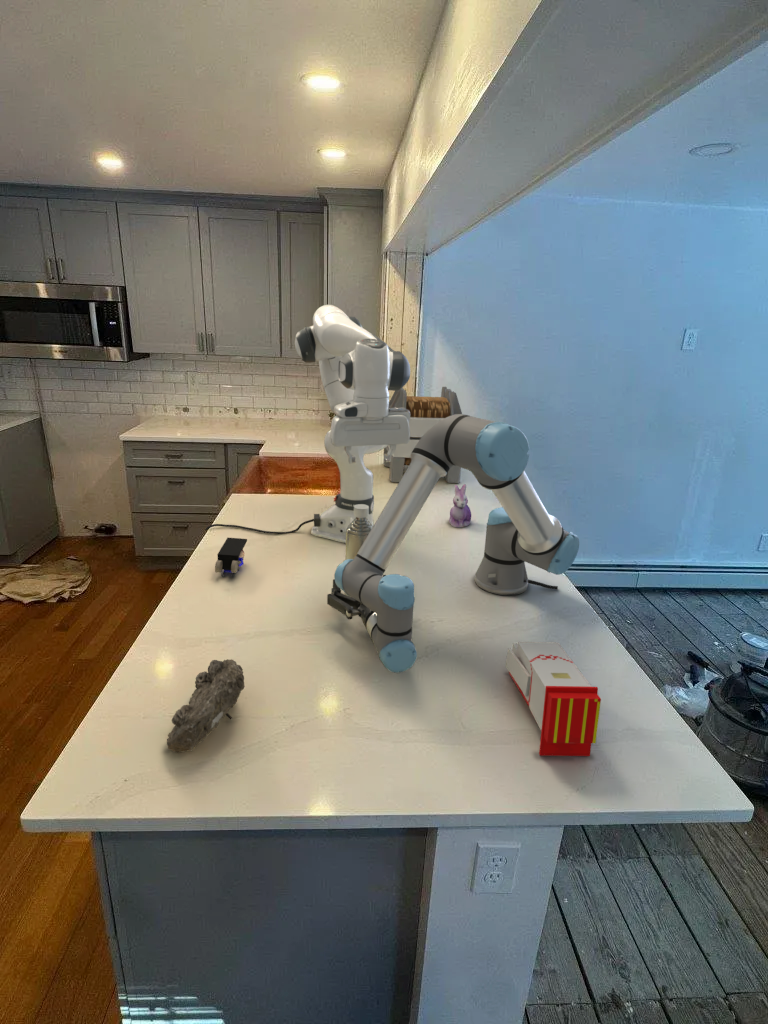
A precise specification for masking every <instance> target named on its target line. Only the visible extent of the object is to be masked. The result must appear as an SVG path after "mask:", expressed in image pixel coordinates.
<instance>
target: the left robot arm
mask: <svg viewBox="0 0 768 1024" xmlns="http://www.w3.org/2000/svg"><path fill="white" fill-rule="evenodd" d="M294 348H295V351H296V354H297V355H298V357H299V358H300V359H301V361H302V362H304V363H306V364H312V363H316V362H318V368H319V375H320V379H321V383H322V387H323V390H324V393H325V397H326V399H327V402H328V406H329V409H330V411H331V412H332V413H333V414H334V415H335V416H333V417H332V419H331V423H330V429H329V430H328V431H327V432H326V433H325V436H324V439H323V445H324V446H323V447H324V449H325V452H326V454H327V455H328V456H329V457H330V458H332V459H333V460H334V462H335V463H336V465H337V468H338V471H339V479H340V480H339V481H340V484H339V485H340V488H339V489H340V490H339V491H338V492H337V494H336V495H335V496H334V497H333V502H334V504H333V505H331V506H329V507H328V508H326V509H325V510H323V512H321V514H320V513H313V518H312V519H308V520H306V521H304V522H303V521H302V522H301V523H300V524H299V525H298V526H297V528H295V529H293V530H290V531H270V530H269V531H268V530H263V529H257V528H253V527H247V526H242V525H237V524H225V523H224V524H223V523H213V524H210V525H209V526H207V527H206V528H205V529H204V531H209V529H211V528H213V527H222V528H223V527H225V528H237V529H241V530H242V529H243V530H247V531H252V532H257V533H262V534H268V535H269V534H270V535H285V534H294V533H296V532H298V531H299V530H301V528H302V527H303V526H304V525H306V524H309V523H312V522H313V526H312V528H311V530H310V533H311V536H315V537H319V538H323V539H326V540H330V541H336V542H339V543H343V544H346V529H347V526H348V525H350V523H351V522H352V521H353V520H354V519H355V518H356V517H355V516H354V506H355V505H357V504H365V505H368V506H369V515H368V517H366V518H367V519H368V521H369V522H370V523H371V524H372V526H374V524H375V522H374V513H373V512H374V509H375V496H374V474H373V472H372V470H371V469H369V468H368V467H366V465H365V461H364V456H368V455H372V454H376V453H379V452H380V451H383V450H384V448H386V447H387V446H388V447H389V448H390V449H389V451H388V453H387V454H384V453H383V462H384V461H385V462H391V455H392V454H393V453H394V451H395V449H396V445H399V444H407V443H408V442H409V440H410V430H409V422H410V412H409V411H408V410H407V409H405V408H404V407H400V408H394V407H392V408H391V407H389V401H390V392H389V391H391V392H392V391H394V392H395V391H399V390H400V389H401V388H403V387H405V386H406V384H407V383H408V382H409V380H410V377H411V364H410V362H409V360H408V358H407V357H406V356H405V355H404V353H402V352H401V351H400V350H394V349H393V348H391V347H390V346H389V345H388V344H387V343H386V342H385V341H384V340H382V339H381V338H380V337H379V336H377V335H376V334H375V333H372V332H370V331H369V330H367V329H365V328H363V325H362V324H361V322H360V321H359V318H356V317H355V316H348V315H347V314H346V313H345V312H344V311H343V310H342V309H341V308H339V307H337V306H336V305H333V304H324V305H321V306H320V307H318V308H317V309H316V310H315V311H314V313H313V317H312V325H310V326H304V327H303V328H302V329H299V331H297V332H296V333H295V336H294ZM404 411H407V412H404Z"/></svg>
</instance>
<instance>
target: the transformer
mask: <svg viewBox="0 0 768 1024" xmlns="http://www.w3.org/2000/svg"><path fill="white" fill-rule="evenodd" d="M440 393H441V394H440V396H415V395H414V396H413V395H412V396H411V395H407V394H408V393H407V390H406V389H404V388H403V387H402V388H401V389H400V390H399V391H394V392H393V394H392V395H391V398H390V399H389V407H391V408H392V407H394V408H400V407H404V408H405V409H407V410H408V411H409V412H410V422H409V430H410V440H409V442H408V443H407V444H399V445H396V449H395V451H394V453H393V454H392V455H391V462H385V461H384V460H383V466H384V467H388V468H389V475H388V476H389V477H388V478H389V480H390V482H391V483H399V482H400V480H401V478H402V477H403V475H404V469H405V466H406V467H407V466H409V465H410V463H411V461H412V460H411V456H410V455H411V453H412V451H413V449H414V448H415V446H416V445H417V443H418V442H419V440H420V439H421V438H422V436H423V435H424V434H425V433H426V432H427V431H428V430H429V429H430V428H431V427H432V426H434V425H435V424H436V423H437V422H439V421H440V420H442V419H444V418H446V417H448V416H452V415H456V414H463V411H462V408H461V405H460V402H459V398H458V395H457V392H455V391H453V390H452V389H451V388H447V386H442V387H441V392H440ZM404 412H407V411H404ZM389 449H390V448H389V447H388V446H387V447H386V448H384V449H383V455H384V454H387V453H388V451H389ZM461 472H462V468H461V467H458V466H455V465H454V466H452V467H451V468H450V469H449V471H448V473H447V475H446V476H443V478H444V479H445V481H446V482H447V483H449V484H455V483H456V484H459V483H461Z"/></svg>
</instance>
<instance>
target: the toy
mask: <svg viewBox="0 0 768 1024" xmlns="http://www.w3.org/2000/svg"><path fill="white" fill-rule="evenodd" d="M511 646H512V647H508V648H507V653H506V658H505V659H506V660H505V668H506V669H507V671H508V675H509V676H510V677H511V679H512V681H513V682H514V684H515V686H516V688H517V689H518V691H519V693H520V694H521V696H522V698H523V700H524V702H525V703H526V705H527V706H528V708H529V710H530V712H531V715H532V716H533V718H534V720H535V722H536V723H537V724H536V725H537V726H538V727H539V730H540V731H541V733H540V739H539V740H540V741H539V749H538V751H539V752H538V754H539V756H543V757H548V756H550V757H551V756H552V757H553V756H554V757H568V756H569V757H591V751H592V744H596V743H597V734H598V726H599V717H600V710H601V702H602V698H601V697H600V696H599V694H598V693H599V688H598V686H592V684H590V682H589V681H588V680H587V678H586V677H585V676H584V675H583V673H582V672H581V671H580V669H579V668H578V667H577V665H576V664H575V663H574V661H573V660H572V659H571V658H570V656H569V655H568V654H567V652H566V651H565V649H564V647H562V645H561V644H560V643H559V642H553V641H551V642H549V641H548V642H547V641H546V642H545V641H517V642H512V645H511Z"/></svg>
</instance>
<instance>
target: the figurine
mask: <svg viewBox="0 0 768 1024" xmlns="http://www.w3.org/2000/svg"><path fill="white" fill-rule="evenodd" d="M453 488H454V496H453V498H452V503H453V506H452V507H451V508H450V511H449V518H448V519H449V520H448V523H449V524H450V525H451V527H454V528H464V527H468V526H469V525H470V524H471V520H472V511H471V508H470V506H469V505H468V503H469V499H468V497H467V495H466V490H467V484H465V483H464V484H463V485H462V486H461V488H459V486H458V485H457V484H454V487H453Z"/></svg>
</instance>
